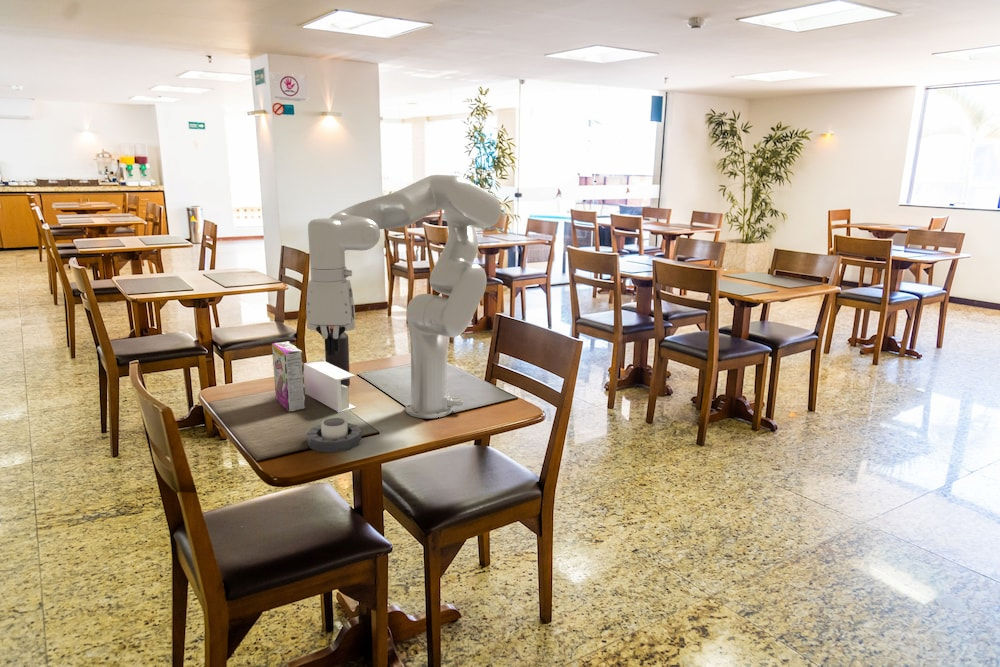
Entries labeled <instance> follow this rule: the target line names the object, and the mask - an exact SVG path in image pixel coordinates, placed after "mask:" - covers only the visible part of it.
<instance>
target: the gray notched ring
mask: <svg viewBox="0 0 1000 667" xmlns="http://www.w3.org/2000/svg"><path fill="white" fill-rule="evenodd" d="M347 428H348V435H347V436H345V437H342V438H336V439H325V438H322V434H321V424H318V425H316V426H314V427H311V428H310V429H309V431H308V432H307V433H306V442H307V443H308V444H309V445H308V444H307V443H306V444H307V445H308V447H309V446H310V447H309V449H311V450H313V451H316V452H319V453H340V452H346V451H350V450H352V449H354V448H356V447H358V446H360V443H361V442H362V429H361V428H360V427H359V426H358V425H357V424H354V423H350V422H347Z"/></svg>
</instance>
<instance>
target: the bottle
mask: <svg viewBox="0 0 1000 667" xmlns="http://www.w3.org/2000/svg"><path fill="white" fill-rule="evenodd" d="M329 328H330V332H331V336H333V329H334V326H329ZM339 342H340V350H339V351H338V353H337V354H336V355H335V356H332V355H331V356H328V354H327V351H325V350H324V352H325V354H324V355H325V356H324V357H325V360H324V361H325V362H327V363H330V364H332V365H334V366H336V367H338V368H340V369H342V370H345V371H347V372H349V373H350V372H351V371H350V351H349V350H350V348H349V347H350V346H349V345H350V344H349V335H348V334H347V333H346V331H344V332H343V333H342V334H341V335H340V336H339ZM350 380H351V378H348V379H344V380H341V385H344V386H347V387H349V386H350V385H351V382H350Z"/></svg>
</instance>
